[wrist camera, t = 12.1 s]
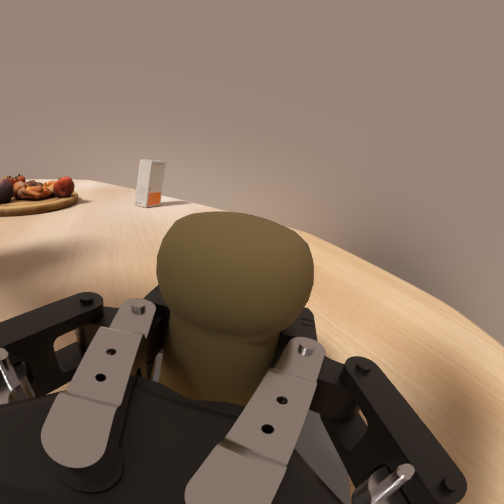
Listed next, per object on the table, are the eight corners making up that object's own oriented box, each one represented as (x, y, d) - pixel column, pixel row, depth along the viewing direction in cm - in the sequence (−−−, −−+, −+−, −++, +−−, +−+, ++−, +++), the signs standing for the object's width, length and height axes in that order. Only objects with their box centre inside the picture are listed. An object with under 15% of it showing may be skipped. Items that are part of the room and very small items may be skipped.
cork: (207, 378, 16) (233, 199, 13) (288, 430, 13) (359, 237, 10) (129, 421, 11) (113, 201, 8) (215, 500, 8) (272, 268, 5)
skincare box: (146, 208, 65) (151, 160, 61) (134, 205, 66) (139, 159, 62) (160, 206, 70) (166, 161, 66) (149, 203, 71) (154, 160, 68)
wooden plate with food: (97, 199, 69) (100, 170, 66) (26, 225, 38) (26, 181, 36) (25, 192, 66) (26, 167, 63) (-44, 212, 35) (-44, 179, 33)
